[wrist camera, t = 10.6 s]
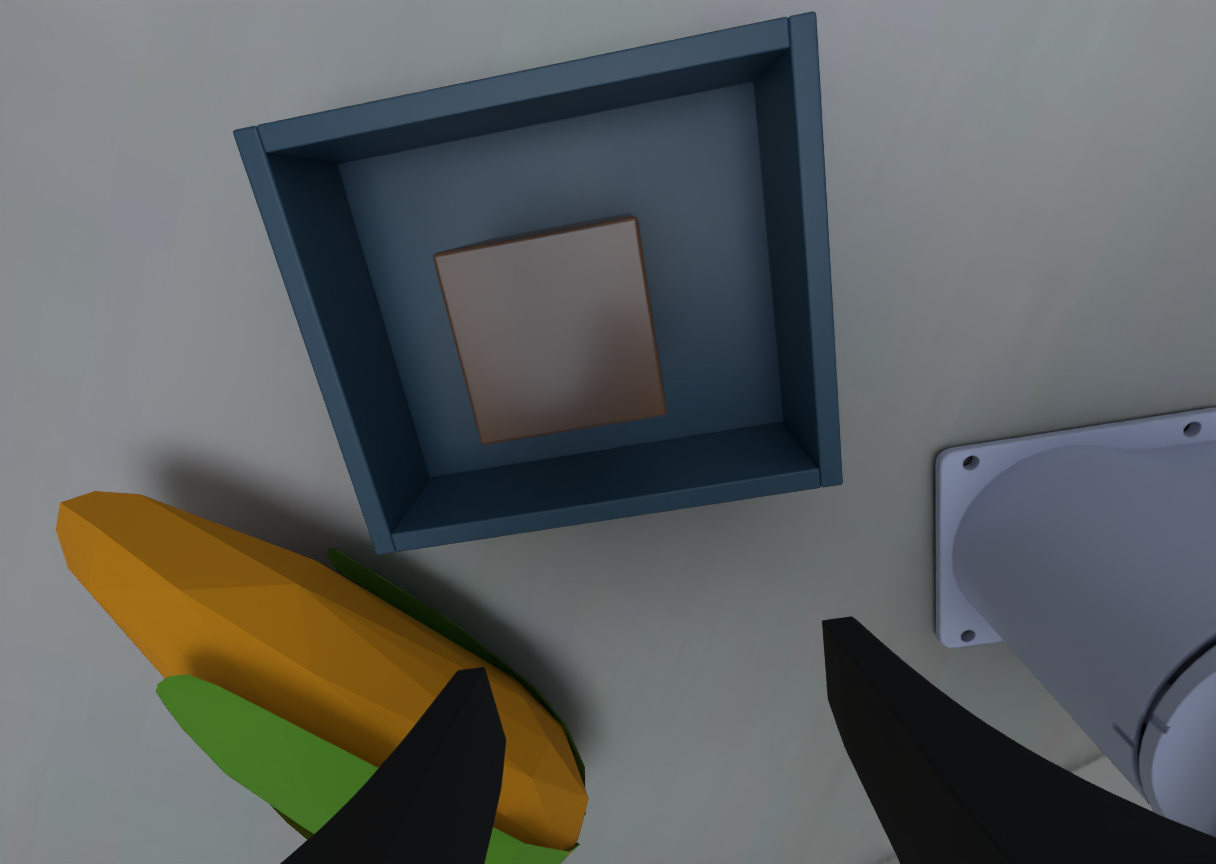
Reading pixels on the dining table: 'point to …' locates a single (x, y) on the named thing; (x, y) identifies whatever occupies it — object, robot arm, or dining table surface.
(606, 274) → the block
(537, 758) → the corn
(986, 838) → the robot arm
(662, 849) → the dining table surface
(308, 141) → the bin
